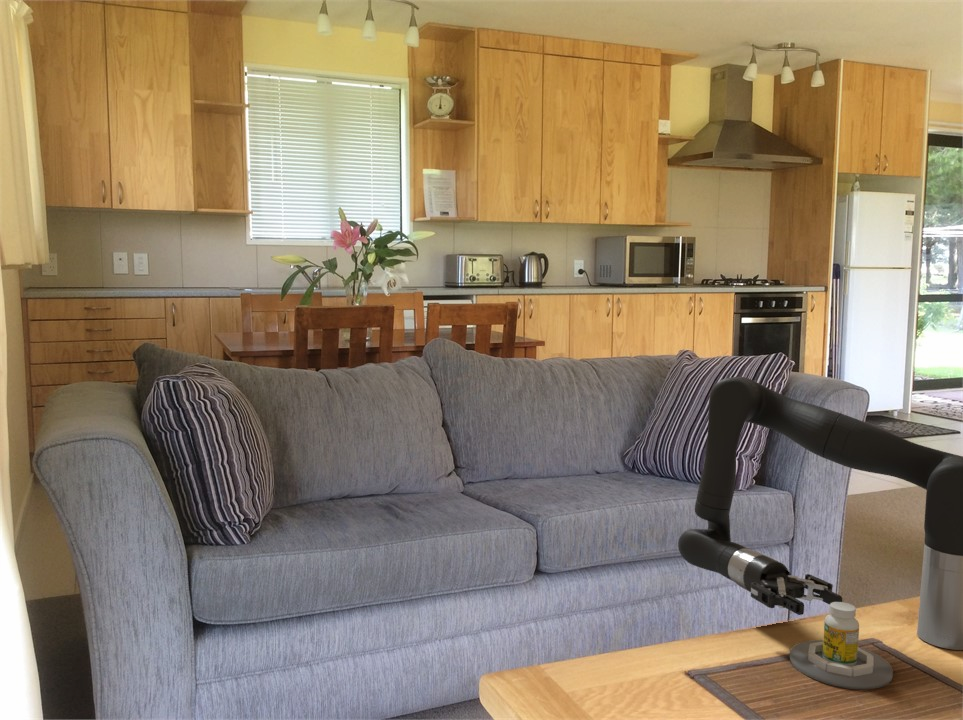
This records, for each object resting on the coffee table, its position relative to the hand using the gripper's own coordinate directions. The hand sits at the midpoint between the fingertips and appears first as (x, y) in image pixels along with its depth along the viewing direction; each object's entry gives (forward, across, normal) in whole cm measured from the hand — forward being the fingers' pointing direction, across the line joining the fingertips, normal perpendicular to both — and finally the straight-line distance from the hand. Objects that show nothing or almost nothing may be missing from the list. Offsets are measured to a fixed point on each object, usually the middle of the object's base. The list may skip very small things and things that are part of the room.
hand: (821, 606), depth 146 cm
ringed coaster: (+5, 0, +9) cm, 10 cm away
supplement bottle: (+5, 0, +8) cm, 9 cm away
